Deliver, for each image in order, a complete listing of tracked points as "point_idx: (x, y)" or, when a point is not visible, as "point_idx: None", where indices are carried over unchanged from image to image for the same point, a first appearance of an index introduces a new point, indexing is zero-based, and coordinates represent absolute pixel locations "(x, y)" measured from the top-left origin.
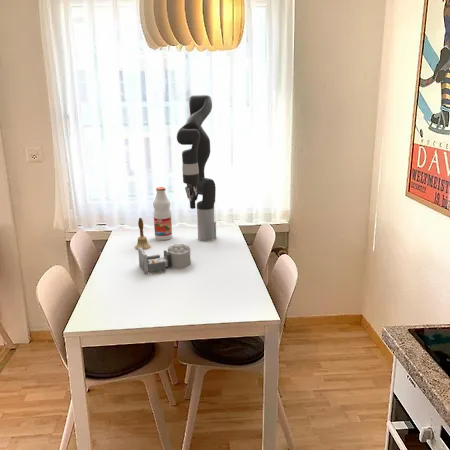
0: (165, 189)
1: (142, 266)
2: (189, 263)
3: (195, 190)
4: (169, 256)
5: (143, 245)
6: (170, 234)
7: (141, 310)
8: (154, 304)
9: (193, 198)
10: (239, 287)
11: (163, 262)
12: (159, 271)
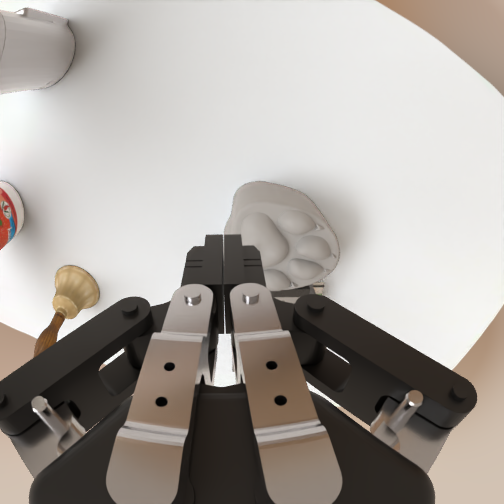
0: None
1: None
2: (312, 202)
3: (437, 451)
4: (308, 286)
5: (87, 296)
6: (7, 194)
7: (444, 344)
8: (444, 326)
9: (319, 355)
10: (500, 154)
11: None
12: None
